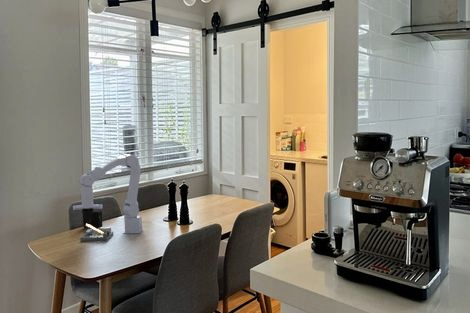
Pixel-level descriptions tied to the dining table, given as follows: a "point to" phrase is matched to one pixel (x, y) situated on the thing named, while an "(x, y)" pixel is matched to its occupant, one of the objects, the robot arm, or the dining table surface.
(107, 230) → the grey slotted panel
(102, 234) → the strap
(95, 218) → the electronic device
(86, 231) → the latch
